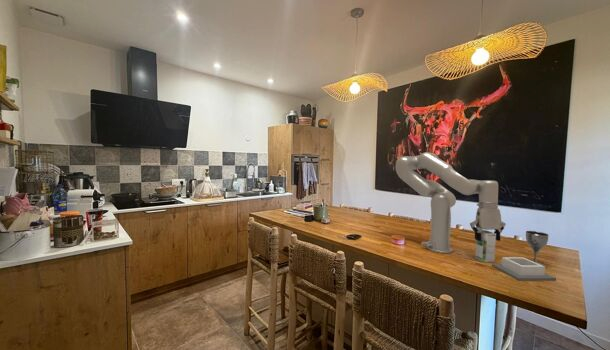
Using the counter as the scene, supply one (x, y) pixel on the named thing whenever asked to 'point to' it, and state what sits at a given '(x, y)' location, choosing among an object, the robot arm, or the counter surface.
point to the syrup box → (486, 246)
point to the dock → (522, 269)
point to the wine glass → (536, 242)
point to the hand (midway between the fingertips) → (487, 240)
